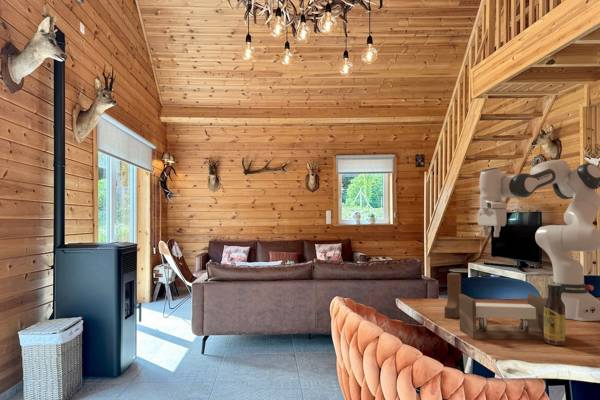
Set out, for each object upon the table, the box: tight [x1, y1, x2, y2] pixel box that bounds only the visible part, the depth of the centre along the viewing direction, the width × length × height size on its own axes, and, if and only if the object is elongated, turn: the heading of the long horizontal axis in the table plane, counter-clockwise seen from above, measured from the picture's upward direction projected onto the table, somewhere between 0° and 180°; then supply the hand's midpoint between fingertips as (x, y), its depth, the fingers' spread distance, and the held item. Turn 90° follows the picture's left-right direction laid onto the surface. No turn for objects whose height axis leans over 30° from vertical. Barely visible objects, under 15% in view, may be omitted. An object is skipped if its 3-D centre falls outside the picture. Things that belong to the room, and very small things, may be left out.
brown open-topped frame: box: [459, 293, 547, 340], centre depth 152 cm, size 27×12×14 cm, turn 90°
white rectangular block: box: [476, 302, 536, 320], centre depth 152 cm, size 20×6×4 cm, turn 81°
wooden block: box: [444, 272, 462, 319], centre depth 180 cm, size 9×4×18 cm, turn 142°
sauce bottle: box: [543, 282, 566, 346], centre depth 141 cm, size 6×6×20 cm
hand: (491, 236), depth 183 cm, fingers open, 8 cm apart
